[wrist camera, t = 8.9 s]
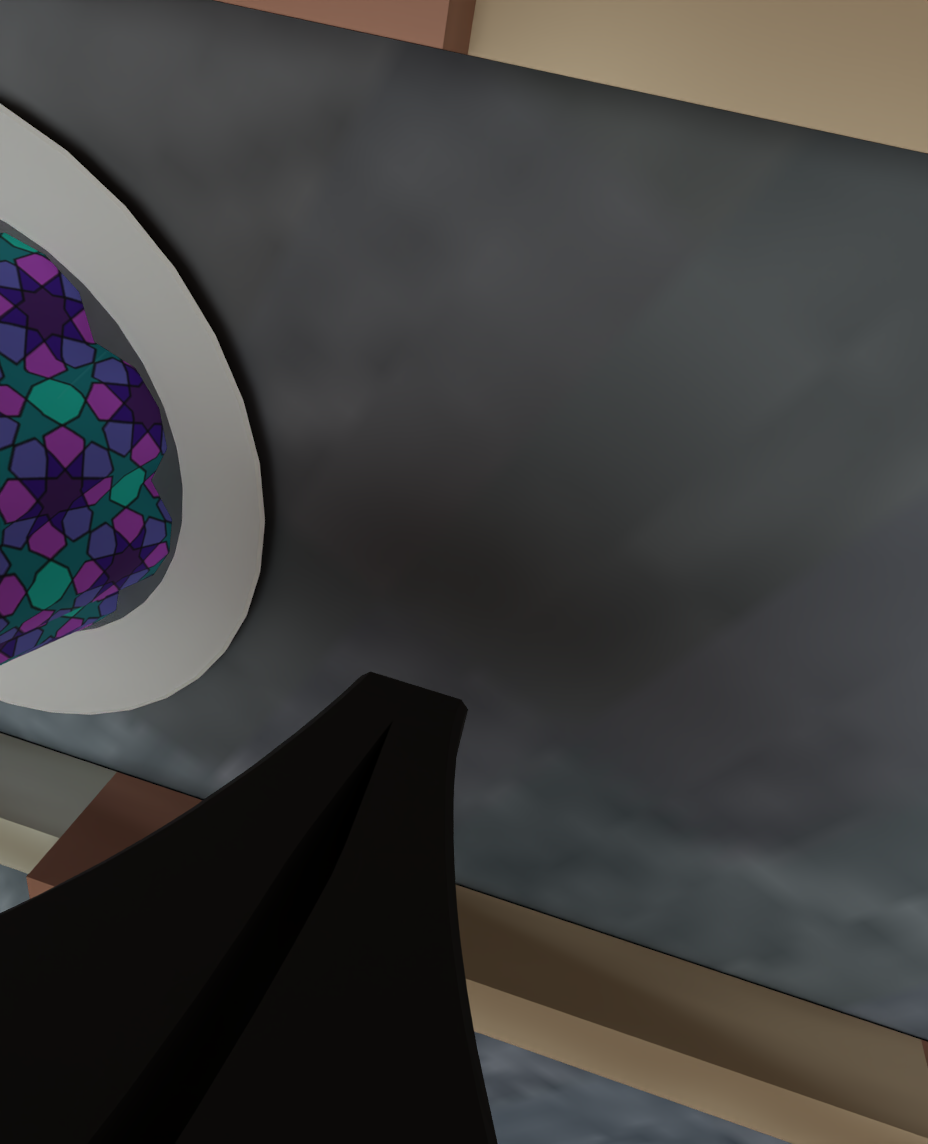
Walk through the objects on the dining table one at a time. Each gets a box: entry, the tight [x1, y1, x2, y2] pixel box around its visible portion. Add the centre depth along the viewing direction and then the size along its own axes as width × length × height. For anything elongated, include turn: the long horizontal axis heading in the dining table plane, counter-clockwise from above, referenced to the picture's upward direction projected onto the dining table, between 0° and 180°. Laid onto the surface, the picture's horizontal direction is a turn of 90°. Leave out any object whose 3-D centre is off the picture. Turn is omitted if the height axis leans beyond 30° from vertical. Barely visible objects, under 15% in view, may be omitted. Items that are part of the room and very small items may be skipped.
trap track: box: [0, 0, 928, 1144], centre depth 12 cm, size 18×43×4 cm, turn 79°
